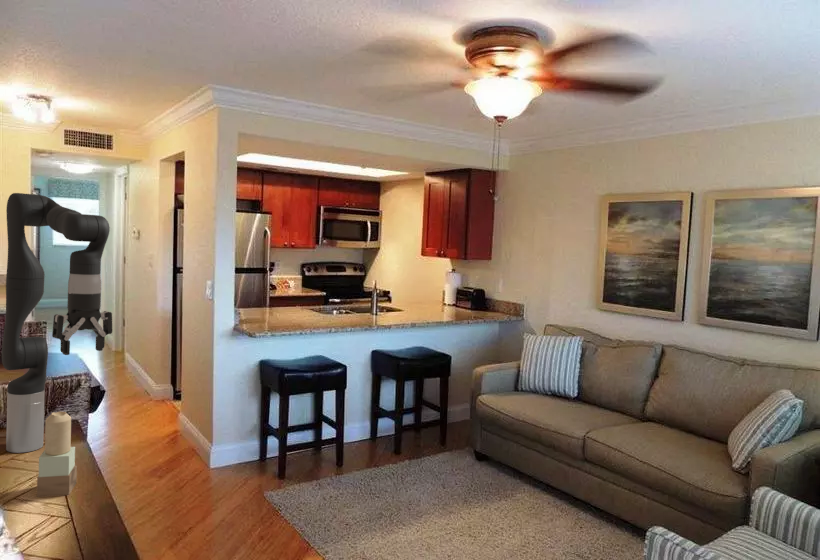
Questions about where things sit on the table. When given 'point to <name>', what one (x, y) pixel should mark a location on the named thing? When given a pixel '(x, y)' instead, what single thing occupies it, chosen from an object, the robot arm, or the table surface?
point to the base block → (56, 484)
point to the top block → (56, 464)
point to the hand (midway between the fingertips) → (82, 352)
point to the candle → (58, 433)
